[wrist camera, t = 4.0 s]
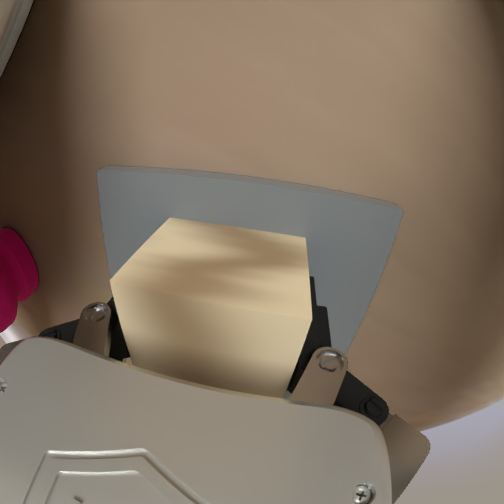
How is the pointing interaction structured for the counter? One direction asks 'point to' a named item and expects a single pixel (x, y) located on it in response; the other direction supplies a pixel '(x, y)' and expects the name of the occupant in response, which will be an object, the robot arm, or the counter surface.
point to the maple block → (216, 305)
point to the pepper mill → (14, 275)
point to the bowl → (11, 26)
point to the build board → (260, 227)
